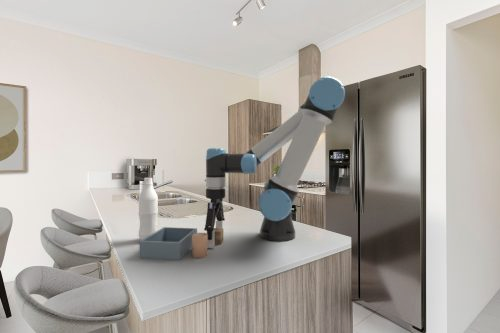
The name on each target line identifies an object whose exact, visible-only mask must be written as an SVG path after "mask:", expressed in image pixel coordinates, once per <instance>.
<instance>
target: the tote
mask: <svg viewBox="0 0 500 333" xmlns="http://www.w3.org/2000/svg"><path fill="white" fill-rule="evenodd" d="M195 233H198V228H194V227H172V226H171V227H170V226H169V227H167V226H166V227H165V226H164V227H162V228H160V229H158V231H156V232H155V233H153V234H151V235H149V236H148V237H146V238H144V239H143V240H139V241H138V242H139V243H138V244H139V247H138V248H139V249H138V250H139V253H138V254H139V258H140V259H153V260H168V259H169V261H170V260H171V261H174V260H175V261H180V260H182V258H183V257H184V256H185V255H186V254H187V253H188V252H189V251H190V250H192V235H193V234H195Z"/></svg>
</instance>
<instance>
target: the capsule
mask: <svg viewBox="0 0 500 333" xmlns="http://www.w3.org/2000/svg"><path fill="white" fill-rule="evenodd" d="M191 252H192V253H191V256H192V258H193V257H194V258H193V259H204V258H206V257H207V256H208V248H207V232H197V233H195V234H193V235H192V248H191Z"/></svg>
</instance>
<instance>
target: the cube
mask: <svg viewBox="0 0 500 333" xmlns="http://www.w3.org/2000/svg"><path fill="white" fill-rule="evenodd" d="M223 242H224V228H216V227H214V246H216V245H217V246H218V245H219V246H221V245H222V244H223Z"/></svg>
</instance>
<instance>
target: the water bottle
mask: <svg viewBox="0 0 500 333" xmlns="http://www.w3.org/2000/svg"><path fill="white" fill-rule="evenodd" d="M143 179H144V180H143V188H142V190H141V191H140V194H139V195H138V217H139V218H138V219H139V230H138V238H139V241H141V240H143V239H144V238H146V237H148V236H149V235H151V234H153V233H155V232H156V231H158V230H159V229H158V215H159V210H158V208H159V206H158V205H159V204H158V202H159V198H158V197H159V196H158V194H157V192H156V190H155V188H154V185H153V184H154V180H153V177H144V178H143Z"/></svg>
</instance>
